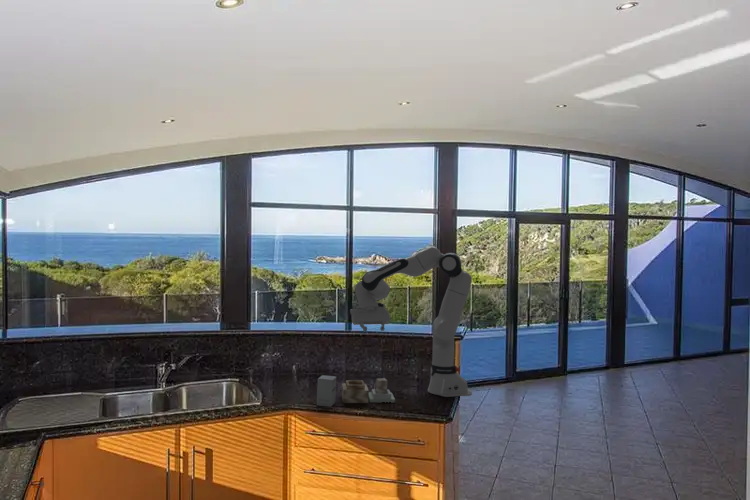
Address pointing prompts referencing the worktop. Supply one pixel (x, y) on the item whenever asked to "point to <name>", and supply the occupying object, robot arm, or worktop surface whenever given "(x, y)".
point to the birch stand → (355, 392)
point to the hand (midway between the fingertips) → (374, 330)
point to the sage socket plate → (381, 397)
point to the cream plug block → (381, 386)
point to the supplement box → (326, 390)
